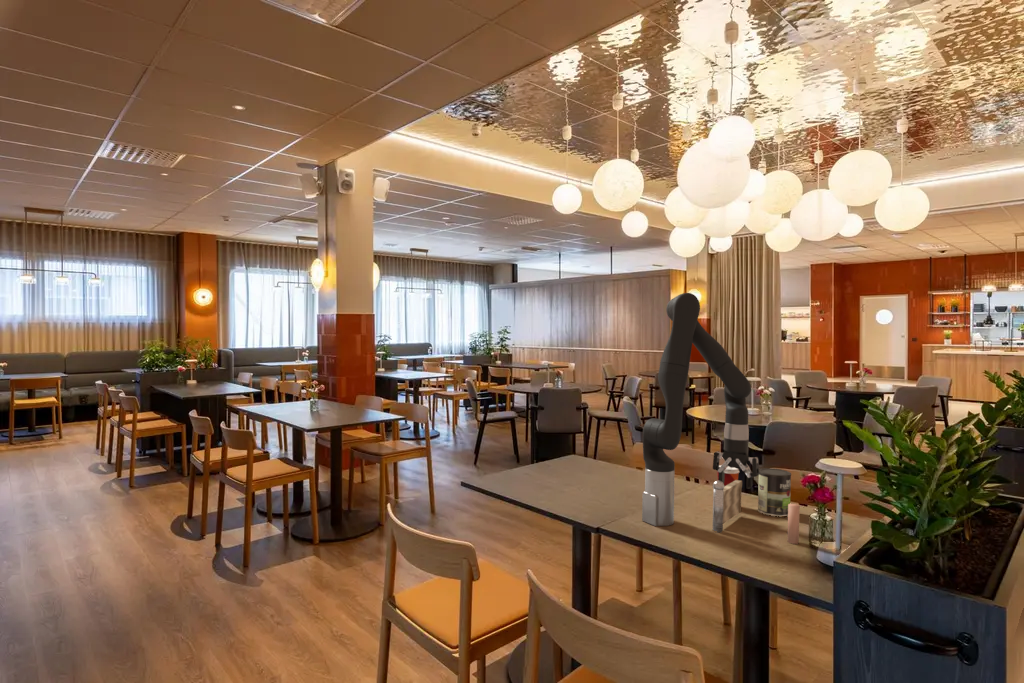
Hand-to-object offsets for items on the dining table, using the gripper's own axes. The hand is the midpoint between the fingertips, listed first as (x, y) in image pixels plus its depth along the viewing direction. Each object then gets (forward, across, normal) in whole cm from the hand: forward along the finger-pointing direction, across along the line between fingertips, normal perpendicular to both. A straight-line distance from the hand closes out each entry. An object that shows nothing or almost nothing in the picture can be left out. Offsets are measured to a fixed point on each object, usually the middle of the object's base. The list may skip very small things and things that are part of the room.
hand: (735, 486), depth 185 cm
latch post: (+11, -20, +9) cm, 25 cm away
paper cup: (+11, +7, -12) cm, 18 cm away
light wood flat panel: (+10, 0, +4) cm, 10 cm away
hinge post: (+11, 0, +14) cm, 18 cm away
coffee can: (+11, -8, -17) cm, 22 cm away
